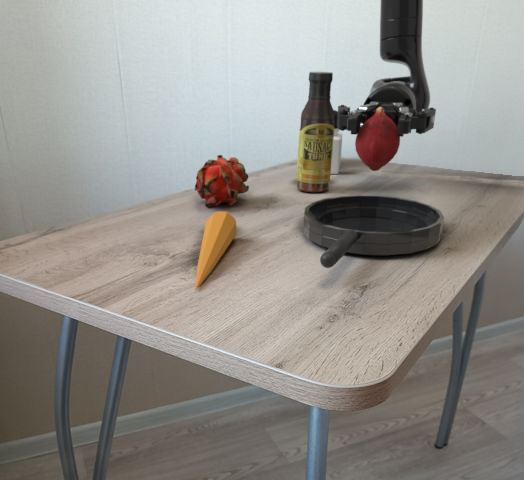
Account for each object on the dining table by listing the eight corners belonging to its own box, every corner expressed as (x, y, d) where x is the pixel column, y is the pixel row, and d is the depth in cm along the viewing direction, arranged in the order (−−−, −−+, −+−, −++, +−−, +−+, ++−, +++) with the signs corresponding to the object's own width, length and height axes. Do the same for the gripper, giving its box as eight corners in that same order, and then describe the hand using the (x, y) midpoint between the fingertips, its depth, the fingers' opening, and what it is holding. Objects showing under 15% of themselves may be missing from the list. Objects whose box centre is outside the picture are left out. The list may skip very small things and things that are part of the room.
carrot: (216, 241, 80) (202, 213, 78) (244, 230, 79) (231, 201, 76) (187, 312, 64) (168, 280, 62) (221, 300, 62) (203, 267, 60)
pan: (449, 225, 83) (452, 202, 82) (426, 268, 68) (430, 240, 66) (328, 212, 90) (329, 190, 89) (283, 247, 75) (283, 222, 73)
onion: (402, 175, 73) (409, 109, 69) (359, 176, 72) (364, 110, 68) (389, 165, 78) (396, 104, 74) (349, 166, 77) (353, 105, 73)
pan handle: (345, 240, 71) (346, 227, 70) (359, 242, 70) (360, 228, 69) (317, 268, 62) (318, 253, 62) (332, 271, 62) (333, 255, 61)
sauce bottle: (300, 194, 100) (303, 73, 91) (293, 186, 106) (295, 71, 96) (334, 193, 101) (342, 72, 92) (326, 185, 107) (332, 70, 97)
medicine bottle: (340, 167, 121) (344, 108, 115) (338, 174, 115) (342, 112, 109) (308, 166, 122) (310, 108, 116) (304, 173, 116) (306, 112, 110)
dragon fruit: (245, 204, 101) (210, 231, 92) (209, 173, 101) (171, 198, 92) (266, 169, 95) (231, 195, 86) (229, 136, 94) (190, 159, 86)
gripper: (344, 82, 84) (323, 93, 70) (442, 84, 80) (440, 95, 66) (341, 134, 88) (320, 154, 73) (435, 138, 84) (431, 160, 70)
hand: (377, 126), depth 70 cm, fingers closed on onion, 5 cm apart
